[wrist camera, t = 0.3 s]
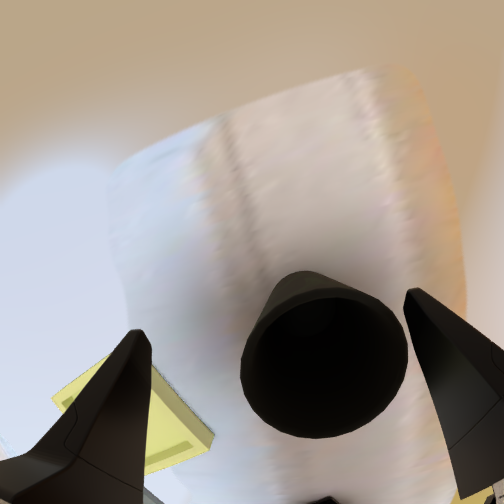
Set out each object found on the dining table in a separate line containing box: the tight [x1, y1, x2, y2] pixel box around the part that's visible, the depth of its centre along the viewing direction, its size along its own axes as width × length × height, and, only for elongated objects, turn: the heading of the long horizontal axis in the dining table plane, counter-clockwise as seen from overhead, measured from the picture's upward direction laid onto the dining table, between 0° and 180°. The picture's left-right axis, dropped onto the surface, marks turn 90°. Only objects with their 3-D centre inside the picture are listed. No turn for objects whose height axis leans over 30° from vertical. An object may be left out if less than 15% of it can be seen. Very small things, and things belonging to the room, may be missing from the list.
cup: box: [240, 271, 408, 439], centre depth 19 cm, size 8×8×12 cm
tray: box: [51, 353, 214, 476], centre depth 26 cm, size 12×12×2 cm
